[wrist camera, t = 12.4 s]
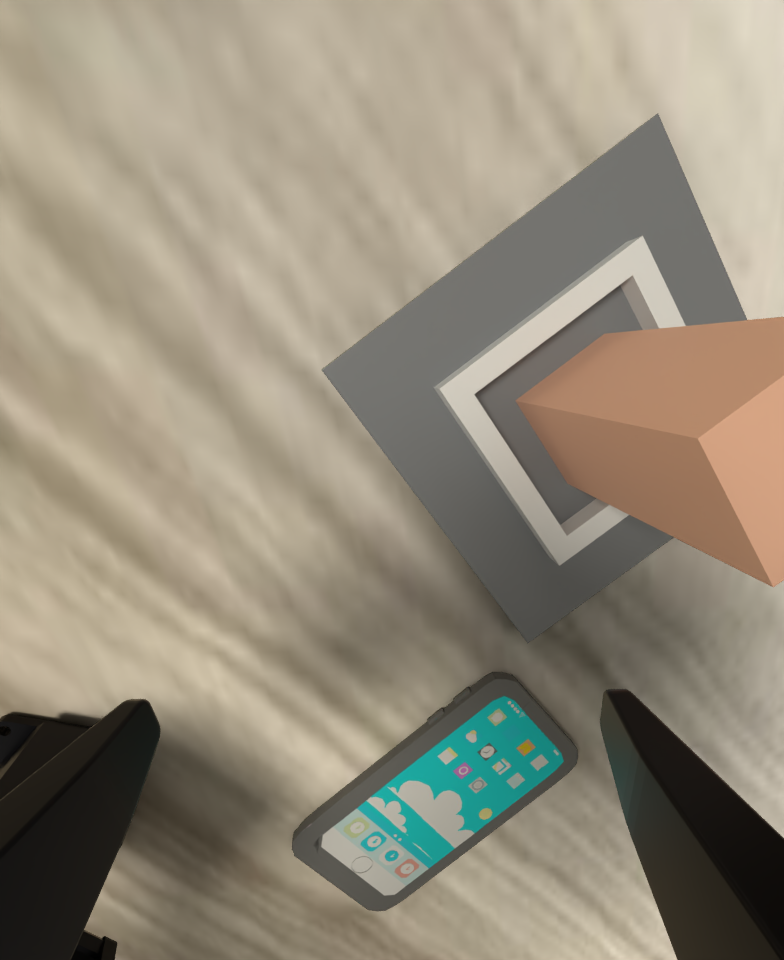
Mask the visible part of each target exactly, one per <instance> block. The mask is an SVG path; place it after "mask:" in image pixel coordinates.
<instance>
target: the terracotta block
mask: <svg viewBox="0 0 784 960" xmlns="http://www.w3.org/2000/svg"><path fill="white" fill-rule="evenodd" d="M515 401H516V403H517V404H518V406H519V407H520V409H521V411H522V412H523V414H524V415H525V417H526V418H527V420H528V422H529V423H530V425H531V426H532V428H533V430H534V431H535V433H536V434H537V436H538V438H539V439H540V441H541V442H542V444H543V445H544V447H545V449H546V450H547V452H548V453H549V455H550V457H551V458H552V460H553V461H554V463H555V464H556V466H557V468H558V469H559V471H560V472H561V474H562V476H563V477H564V479H565V480H566V482H567V484H569V485H571V486H573V487H575V488H577V489H579V490H581V491H583V492H585V493H587V494H589V495H591V496H593V497H595V498H597V499H599V500H601V501H603V502H605V503H607V504H609V505H611V506H613V507H615V508H617V509H619V510H621V511H623V512H625V513H627V514H629V515H631V516H633V517H635V518H637V519H639V520H641V521H643V522H645V523H647V524H649V525H651V526H653V527H655V528H657V529H659V530H661V531H663V532H665V533H667V534H669V535H671V536H673V537H675V538H677V539H679V540H681V541H682V542H684V543H686V544H688V545H690V546H692V547H694V548H696V549H698V550H700V551H702V552H704V553H706V554H708V555H710V556H712V557H714V558H716V559H718V560H720V561H722V562H724V563H726V564H728V565H730V566H732V567H734V568H736V569H738V570H740V571H742V572H744V573H746V574H748V575H750V576H752V577H754V578H756V579H758V580H760V581H762V582H764V583H766V584H768V585H770V586H772V587H775V586H776V585H777V584H779V583H780V582H782V581H783V580H784V317H776V318H766V319H755V320H745V321H734V322H723V323H713V324H702V325H691V326H681V327H670V328H660V329H649V330H638V331H628V332H617V333H606V334H603V335H602V336H601V337H599V338H598V339H597V340H595V341H594V342H593V343H591V344H590V345H589V346H587V347H586V348H585V349H583V350H582V351H581V352H579V353H578V354H577V355H575V356H574V357H573V358H571V359H570V360H569V361H567V362H566V363H565V364H563V365H562V366H561V367H559V368H558V369H557V370H555V371H554V372H553V373H551V374H550V375H549V376H547V377H546V378H545V379H543V380H542V381H541V382H539V383H538V384H537V385H535V386H534V387H533V388H531V389H530V390H529V391H527V392H526V393H525V394H523V395H522V396H521V397H519V398H518V399H517V400H515Z"/></svg>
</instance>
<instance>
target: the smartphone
mask: <svg viewBox="0 0 784 960" xmlns="http://www.w3.org/2000/svg"><path fill="white" fill-rule="evenodd" d="M577 759H578V753H577V748H576V747H575V745H574V744H573V742H572V741H571V740H570V739H569V738H568V737H567V736H566V734H565V733H564V732H563V731H562V730H561V729H560V728H559V727H558V726H557V724H556V723H555V722H554V721H553V720H552V719H551V718H550V717H549V715H548V714H547V713H546V712H545V711H544V710H543V709H542V708H541V707H540V705H539V704H538V703H537V702H536V701H535V700H534V699H533V698H532V696H531V695H530V694H529V693H528V692H527V691H526V690H525V689H524V687H523V686H522V685H521V684H520V683H519V682H518V681H517V680H516V679H515V677H514V676H513V675H510V674H507V673H503V672H492V673H490V674H488V675H486V676H485V677H483V678H482V679H480V680H479V681H478V682H477V683H475V684H474V685H473V686H472V687H470V688H469V687H468V688H466V689H465V690H464V691H462V692H461V693H460V694H459V695H457V696H456V697H455V698H454V701H453V702H451V703H450V704H449V705H448V706H446V707H445V708H444V709H443V708H441V709H440V710H438V711H437V712H436V713H435V714H433V715H432V716H431V717H429V718H428V719H427V722H426V723H425V724H424V725H422V726H421V727H420V728H419V729H417V730H416V731H415V732H413V733H412V734H411V735H410V736H408V737H407V738H406V739H405V740H403V741H402V742H401V743H400V744H398V745H397V746H396V747H395V748H393V749H392V750H391V751H389V752H388V753H387V754H386V755H384V756H383V757H382V758H381V759H379V760H378V761H377V762H376V763H374V764H373V765H372V766H371V767H369V768H368V769H367V770H365V771H364V772H363V773H362V774H360V775H359V776H358V777H357V778H355V779H354V780H353V781H352V782H350V783H349V784H348V785H346V786H345V787H344V788H343V789H341V790H340V791H339V792H338V793H336V794H335V795H334V796H333V797H331V798H330V799H329V800H328V801H326V802H325V803H324V804H322V805H321V806H320V807H319V808H317V809H316V810H315V811H314V812H313V813H312V814H310V815H309V816H308V817H307V818H306V819H305V820H304V821H303V822H302V823H301V824H300V826H299V827H298V828H297V829H296V830H295V832H294V835H293V841H292V850H293V853H294V856H295V857H297V858H298V859H300V860H301V861H302V862H304V863H305V864H306V865H308V866H309V867H310V868H312V869H313V870H314V871H316V872H317V873H319V874H320V875H321V876H323V877H324V878H325V879H327V880H328V881H329V882H331V883H332V884H334V885H335V886H336V887H338V888H339V889H340V890H342V891H343V892H344V893H346V894H347V895H348V896H350V897H351V898H353V899H354V900H355V901H357V902H358V903H359V904H361V905H362V906H363V907H365V908H366V909H368V910H372V911H386V910H387V909H389V908H391V907H393V906H395V905H397V904H398V903H400V902H401V901H403V900H404V899H405V898H407V897H408V896H409V895H411V894H412V893H413V892H415V891H416V890H417V889H418V888H420V887H421V886H422V885H424V884H425V883H426V882H428V881H429V880H430V879H431V878H433V877H434V876H435V875H437V874H438V873H439V872H441V871H442V870H443V869H445V868H446V867H447V866H448V865H450V864H451V863H452V862H454V861H455V860H456V859H458V858H459V857H460V856H462V855H463V854H464V853H465V852H467V851H468V850H469V849H471V848H472V847H473V846H475V845H476V844H477V843H478V842H480V841H481V840H482V839H484V838H485V837H486V836H488V835H489V834H490V833H492V832H493V831H494V830H495V829H497V828H498V827H499V826H501V825H502V824H503V823H505V822H506V821H507V820H509V819H510V818H511V817H512V816H514V815H515V814H516V813H518V812H519V811H520V810H522V809H523V808H524V807H525V806H527V805H528V804H529V803H531V802H532V801H533V800H535V799H536V798H537V797H539V796H540V795H541V794H542V793H544V792H545V791H546V790H548V789H549V788H550V787H552V786H553V785H554V784H556V783H557V782H558V781H559V780H561V779H562V778H563V777H564V776H565V775H567V774H568V773H569V772H570V771H571V770H572V769H573V767H574V766H575V765H576V763H577Z"/></svg>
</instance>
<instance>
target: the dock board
mask: <svg viewBox="0 0 784 960" xmlns="http://www.w3.org/2000/svg"><path fill="white" fill-rule="evenodd" d="M745 320H747V318H746V316H745V314H744V311H743V309H742V307H741V304H740V302H739V300H738V297H737V295H736V293H735V291H734V288H733V286H732V284H731V281H730V279H729V277H728V274H727V272H726V270H725V267H724V265H723V263H722V260H721V258H720V256H719V254H718V251H717V249H716V247H715V244H714V242H713V240H712V237H711V235H710V233H709V230H708V228H707V226H706V223H705V221H704V219H703V217H702V214H701V212H700V210H699V207H698V205H697V203H696V200H695V198H694V196H693V193H692V191H691V189H690V186H689V184H688V182H687V179H686V177H685V175H684V173H683V170H682V168H681V166H680V163H679V161H678V159H677V156H676V154H675V152H674V149H673V147H672V145H671V142H670V140H669V138H668V136H667V133H666V131H665V129H664V126H663V124H662V122H661V119H660V117H659V115H658V114H656V115H655V116H654V117H652V118H651V119H650V120H648V121H647V122H645V123H644V124H643V125H641V126H640V127H639V128H637V129H636V130H635V131H633V132H632V133H631V134H629V135H628V136H627V137H626V138H624V139H623V140H622V141H620V142H619V143H618V144H616V145H615V146H614V147H612V148H611V149H610V150H609V151H607V152H606V153H605V154H603V155H602V156H601V157H599V158H598V159H597V160H595V161H594V162H593V163H592V164H590V165H589V166H588V167H586V168H585V169H584V170H582V171H581V172H580V173H578V174H577V175H576V176H574V177H573V178H572V179H571V180H569V181H568V182H567V183H565V184H564V185H563V186H561V187H560V188H559V189H557V190H556V191H555V192H554V193H552V194H551V195H550V196H548V197H547V198H546V199H544V200H543V201H542V202H540V203H539V204H538V205H537V206H535V207H534V208H533V209H531V210H530V211H529V212H527V213H526V214H525V215H523V216H522V217H521V218H519V219H518V220H517V221H516V222H514V223H513V224H512V225H510V226H509V227H508V228H506V229H505V230H504V231H502V232H501V233H500V234H499V235H497V236H496V237H495V238H493V239H492V240H491V241H489V242H488V243H487V244H485V245H484V246H483V247H482V248H480V249H479V250H478V251H476V252H475V253H474V254H472V255H471V256H470V257H468V258H467V259H466V260H464V261H463V262H462V263H461V264H459V265H458V266H457V267H455V268H454V269H453V270H451V271H450V272H449V273H447V274H446V275H445V276H444V277H442V278H441V279H440V280H438V281H437V282H436V283H434V284H433V285H432V286H430V287H429V288H428V289H427V290H425V291H424V292H423V293H421V294H420V295H419V296H417V297H416V298H415V299H413V300H412V301H411V302H409V303H408V304H407V305H406V306H404V307H403V308H402V309H400V310H399V311H398V312H396V313H395V314H394V315H392V316H391V317H390V318H389V319H387V320H386V321H385V322H383V323H382V324H381V325H379V326H378V327H377V328H375V329H374V330H373V331H372V332H370V333H369V334H368V335H366V336H365V337H364V338H362V339H361V340H360V341H358V342H357V343H356V344H354V345H353V346H352V347H351V348H349V349H348V350H347V351H345V352H344V353H343V354H341V355H340V356H339V357H337V358H336V359H335V360H334V361H332V362H331V363H330V364H328V365H327V366H326V367H324V368H323V369H322V371H323V372H324V374H325V375H326V376H327V378H328V379H329V380H330V382H331V383H332V384H333V386H334V387H335V388H336V390H337V391H338V392H339V394H340V395H341V396H342V398H343V399H344V400H345V402H346V403H347V404H348V406H349V407H350V408H351V410H352V411H353V412H354V414H355V415H356V416H357V417H358V419H359V420H360V421H361V423H362V424H363V425H364V427H365V428H366V429H367V431H368V432H369V433H370V435H371V436H372V437H373V439H374V440H375V441H376V443H377V444H378V445H379V447H380V448H381V449H382V451H383V452H384V453H385V455H386V456H387V457H388V459H389V460H390V461H391V463H392V464H393V465H394V467H395V468H396V469H397V470H398V472H399V473H400V474H401V476H402V477H403V478H404V480H405V481H406V482H407V484H408V485H409V486H410V488H411V489H412V490H413V492H414V493H415V494H416V496H417V497H418V498H419V500H420V501H421V502H422V504H423V505H424V506H425V508H426V509H427V510H428V512H429V513H430V514H431V516H432V517H433V518H434V520H435V521H436V522H437V524H438V525H439V526H440V527H441V529H442V530H443V531H444V533H445V534H446V535H447V537H448V538H449V539H450V541H451V542H452V543H453V545H454V546H455V547H456V549H457V550H458V551H459V553H460V554H461V555H462V557H463V558H464V559H465V561H466V562H467V563H468V565H469V566H470V567H471V569H472V570H473V571H474V573H475V574H476V575H477V577H478V578H479V579H480V580H481V582H482V583H483V584H484V586H485V587H486V588H487V590H488V591H489V592H490V594H491V595H492V596H493V598H494V599H495V600H496V602H497V603H498V604H499V606H500V607H501V608H502V610H503V611H504V612H505V614H506V615H507V616H508V618H509V619H510V620H511V622H512V623H513V624H514V626H515V627H516V628H517V630H518V631H519V632H520V634H521V635H522V636H523V637H524V639H525V640H526V641H527V643H529V642H530V641H531V640H533V639H534V638H536V637H537V636H538V635H540V634H541V633H543V632H544V631H545V630H547V629H548V628H549V627H551V626H552V625H554V624H555V623H556V622H558V621H559V620H560V619H562V618H563V617H565V616H566V615H567V614H569V613H570V612H571V611H573V610H574V609H576V608H577V607H578V606H580V605H581V604H582V603H584V602H585V601H587V600H588V599H589V598H591V597H592V596H593V595H595V594H596V593H598V592H599V591H600V590H602V589H603V588H604V587H606V586H607V585H609V584H610V583H611V582H613V581H614V580H616V579H617V578H618V577H620V576H621V575H622V574H624V573H625V572H627V571H628V570H629V569H631V568H632V567H633V566H635V565H636V564H638V563H639V562H640V561H642V560H643V559H644V558H646V557H647V556H649V555H650V554H651V553H653V552H654V551H655V550H657V549H658V548H660V547H661V546H662V545H664V544H665V543H666V542H668V541H669V540H671V539H672V538H673V536H671V535H669V534H667V533H665V532H663V531H661V530H659V529H657V528H655V527H653V526H651V525H649V524H647V523H645V522H643V521H641V520H639V519H637V518H635V517H633V516H631V515H629V514H627V513H625V512H623V511H621V510H619V509H617V508H615V507H613V506H611V505H609V504H607V503H605V502H603V501H601V500H599V499H597V498H595V497H593V496H591V495H589V494H587V493H585V492H583V491H581V490H579V489H577V488H575V487H573V486H571V485H569V484H567V482H566V480H565V479H564V477H563V476H562V474H561V472H560V471H559V469H558V468H557V466H556V464H555V463H554V461H553V460H552V458H551V457H550V455H549V453H548V452H547V450H546V449H545V447H544V445H543V444H542V442H541V441H540V439H539V438H538V436H537V434H536V433H535V431H534V430H533V428H532V426H531V425H530V423H529V422H528V420H527V418H526V417H525V415H524V414H523V412H522V411H521V409H520V407H519V406H518V404H517V403H516V401H515V400H517V399H518V398H519V397H521V396H522V395H523V394H525V393H526V392H527V391H529V390H530V389H531V388H533V387H534V386H535V385H537V384H538V383H539V382H541V381H542V380H543V379H545V378H546V377H547V376H549V375H550V374H551V373H553V372H554V371H555V370H557V369H558V368H559V367H561V366H562V365H563V364H565V363H566V362H567V361H569V360H570V359H571V358H573V357H574V356H575V355H577V354H578V353H579V352H581V351H582V350H583V349H585V348H586V347H587V346H589V345H590V344H591V343H593V342H594V341H595V340H597V339H598V338H599V337H601V336H602V335H603V334H606V333H617V332H628V331H638V330H649V329H660V328H670V327H681V326H691V325H702V324H713V323H723V322H734V321H745Z"/></svg>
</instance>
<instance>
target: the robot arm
mask: <svg viewBox="0 0 784 960" xmlns="http://www.w3.org/2000/svg"><path fill="white" fill-rule="evenodd" d="M600 725H601V731H602V735H603V739H604V743H605V747H606V750H607V754H608V758H609V761H610V765H611V769H612V772H613V776H614V780H615V784H616V787H617V791H618V795H619V798H620V802H621V806H622V809H623V813H624V816H625V820H626V823H627V826H628V829H629V832H630V835H631V838H632V840H633V843H634V846H635V848H636V851H637V854H638V856H639V859H640V862H641V864H642V867H643V870H644V872H645V875H646V877H647V880H648V883H649V885H650V888H651V891H652V893H653V896H654V899H655V901H656V904H657V907H658V909H659V912H660V915H661V917H662V920H663V923H664V925H665V928H666V931H667V933H668V936H669V938H670V941H671V944H672V946H673V949H674V952H675V954H676V957H677V960H784V838H783V837H782V836H781V835H780V834H779V833H778V832H777V831H776V830H775V829H774V828H773V827H772V826H771V825H769V824H768V823H767V822H766V821H765V820H764V819H763V818H762V817H761V816H760V815H759V814H758V813H757V812H756V811H755V810H754V809H753V808H752V807H751V806H750V805H749V804H748V803H746V802H745V801H744V800H743V799H742V798H741V797H740V796H739V795H738V794H737V793H736V792H735V791H734V790H733V789H732V788H731V787H730V786H729V785H728V784H727V783H726V782H725V781H724V780H722V779H721V778H720V777H719V776H718V775H717V774H716V773H715V772H714V771H713V770H712V769H711V768H710V767H709V766H708V765H707V764H706V763H705V762H704V761H703V760H702V759H701V758H699V757H698V756H697V755H696V754H695V753H694V752H693V751H692V750H691V749H690V748H689V747H688V746H687V745H686V744H685V743H684V742H683V741H682V740H681V739H680V738H679V737H678V736H677V735H675V734H674V733H673V732H672V731H671V730H670V729H669V728H668V727H667V726H666V725H665V724H664V723H663V722H662V721H661V720H660V719H659V718H658V717H657V716H656V715H655V714H654V713H652V712H651V711H650V710H649V709H648V708H647V707H646V706H645V705H644V704H643V703H642V702H641V701H640V700H639V699H638V698H637V697H636V696H635V695H634V694H633V693H631V692H630V691H628V690H626V689H608V690H606V691H605V692H604V695H603V701H602V709H601V717H600ZM5 726H7V727H9V728H10V729H8V728H6V727H5ZM159 737H160V725H159V722H158V720H157V718H156V716H155V713H154V711H153V709H152V707H151V704H150V703H149V701H147V700H145V699H131V700H126V701H124V702H123V703H121V704H120V705H119V706H117V707H116V708H115V709H114V710H112V711H111V712H110V713H109V714H107V715H106V716H105V717H104V718H102V719H101V720H100V721H99V722H97V723H96V724H95V725H94V726H92V727H85V726H79V725H72V724H66V723H60V722H54V721H47V720H41V719H35V718H28V717H22V716H16V715H5V716H2V717H1V718H0V960H115V954H116V948H117V942H116V941H114V940H112V939H110V938H108V937H106V936H104V937H103V938H100V937H98V936H96V935H94V934H92V933H90V932H87V931H85V930H84V928H85V926H86V924H87V921H88V919H89V917H90V915H91V912H92V910H93V908H94V905H95V903H96V901H97V898H98V896H99V894H100V892H101V889H102V887H103V885H104V882H105V880H106V878H107V876H108V873H109V871H110V869H111V866H112V864H113V862H114V860H115V857H116V855H117V853H118V850H119V848H120V847H121V845H122V843H123V841H124V838H125V835H126V832H127V829H128V827H129V825H130V822H131V820H132V817H133V814H134V812H135V809H136V806H137V803H138V800H139V797H140V794H141V791H142V788H143V785H144V782H145V780H146V777H147V774H148V771H149V768H150V765H151V762H152V759H153V756H154V753H155V750H156V747H157V744H158V741H159Z"/></svg>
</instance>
